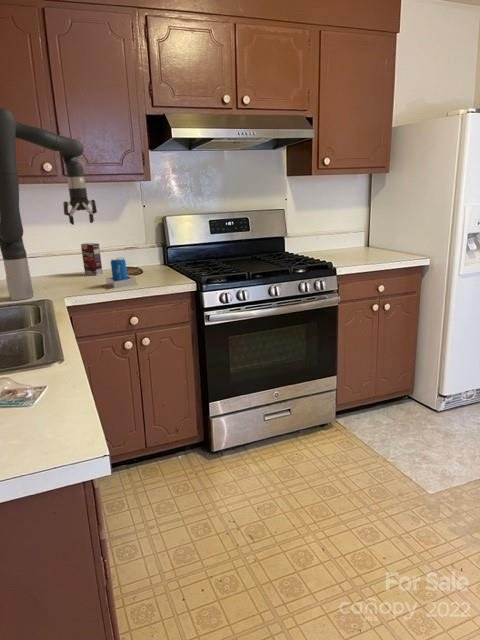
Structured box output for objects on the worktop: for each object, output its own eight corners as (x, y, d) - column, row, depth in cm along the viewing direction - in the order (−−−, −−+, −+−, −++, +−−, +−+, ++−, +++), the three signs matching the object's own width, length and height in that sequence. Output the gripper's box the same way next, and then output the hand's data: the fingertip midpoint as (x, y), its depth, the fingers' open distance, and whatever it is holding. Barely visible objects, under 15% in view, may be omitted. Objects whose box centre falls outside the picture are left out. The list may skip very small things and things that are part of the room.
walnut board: (106, 291, 211) (105, 289, 211) (98, 287, 219) (98, 285, 219) (138, 285, 219) (137, 284, 219) (130, 282, 227) (129, 280, 227)
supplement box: (84, 274, 250) (80, 244, 245) (91, 272, 254) (87, 242, 249) (96, 275, 246) (92, 244, 241) (103, 273, 250) (99, 243, 245)
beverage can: (113, 286, 216) (110, 260, 212) (113, 283, 222) (110, 257, 218) (127, 285, 217) (125, 259, 214) (128, 282, 223) (125, 256, 220)
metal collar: (114, 288, 213) (113, 281, 212) (106, 284, 221) (105, 278, 220) (136, 284, 218) (135, 278, 217) (128, 280, 227) (127, 274, 226)
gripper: (63, 188, 210) (68, 225, 215) (95, 186, 217) (99, 222, 222) (59, 188, 216) (64, 224, 221) (90, 186, 223) (95, 221, 228)
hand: (82, 223), depth 221 cm, fingers open, 8 cm apart
